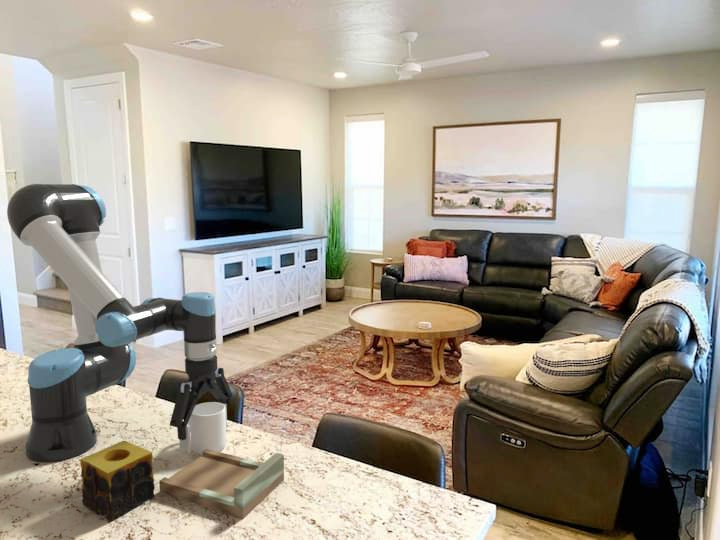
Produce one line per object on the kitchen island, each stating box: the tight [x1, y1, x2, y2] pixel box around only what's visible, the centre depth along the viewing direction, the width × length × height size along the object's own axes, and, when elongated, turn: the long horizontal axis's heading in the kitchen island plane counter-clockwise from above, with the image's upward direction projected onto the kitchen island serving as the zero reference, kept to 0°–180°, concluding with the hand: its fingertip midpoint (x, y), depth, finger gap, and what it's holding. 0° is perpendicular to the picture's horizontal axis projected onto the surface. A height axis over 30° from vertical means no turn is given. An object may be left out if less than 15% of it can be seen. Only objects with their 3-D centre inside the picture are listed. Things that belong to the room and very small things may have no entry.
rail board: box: [158, 449, 285, 519], centre depth 111 cm, size 21×15×6 cm
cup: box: [187, 401, 227, 456], centre depth 129 cm, size 8×12×10 cm
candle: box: [79, 440, 155, 522], centre depth 105 cm, size 10×10×10 cm
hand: (204, 438), depth 129 cm, fingers open, 13 cm apart
